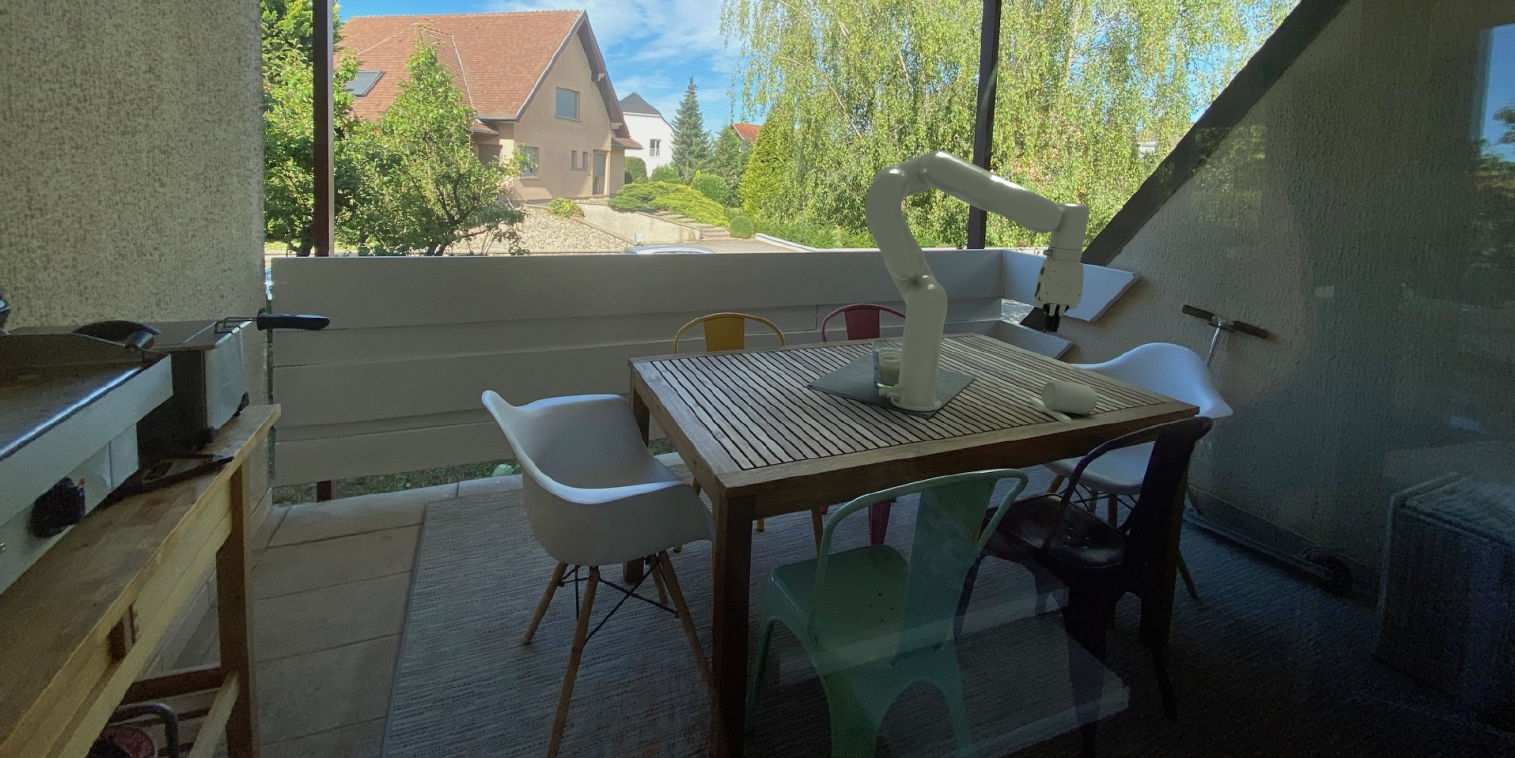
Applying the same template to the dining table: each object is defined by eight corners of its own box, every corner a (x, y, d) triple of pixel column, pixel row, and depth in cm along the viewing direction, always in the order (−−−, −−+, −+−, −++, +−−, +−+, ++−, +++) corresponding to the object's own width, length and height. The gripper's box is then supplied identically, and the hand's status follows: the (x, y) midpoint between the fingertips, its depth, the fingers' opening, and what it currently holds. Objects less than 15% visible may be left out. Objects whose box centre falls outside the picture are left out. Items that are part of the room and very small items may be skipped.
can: (1054, 410, 189) (1096, 418, 191) (1061, 380, 188) (1102, 388, 191) (1036, 406, 196) (1077, 413, 199) (1042, 377, 195) (1083, 384, 198)
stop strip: (1064, 423, 187) (1065, 418, 186) (1029, 401, 204) (1029, 397, 204) (1070, 423, 187) (1071, 418, 187) (1035, 401, 204) (1035, 397, 204)
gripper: (1042, 255, 179) (1029, 333, 184) (1101, 259, 181) (1087, 336, 186) (1027, 252, 186) (1014, 326, 191) (1084, 256, 189) (1070, 329, 193)
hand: (1050, 331), depth 189 cm, fingers closed
